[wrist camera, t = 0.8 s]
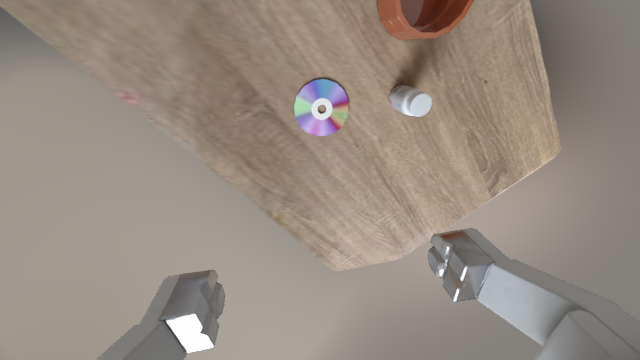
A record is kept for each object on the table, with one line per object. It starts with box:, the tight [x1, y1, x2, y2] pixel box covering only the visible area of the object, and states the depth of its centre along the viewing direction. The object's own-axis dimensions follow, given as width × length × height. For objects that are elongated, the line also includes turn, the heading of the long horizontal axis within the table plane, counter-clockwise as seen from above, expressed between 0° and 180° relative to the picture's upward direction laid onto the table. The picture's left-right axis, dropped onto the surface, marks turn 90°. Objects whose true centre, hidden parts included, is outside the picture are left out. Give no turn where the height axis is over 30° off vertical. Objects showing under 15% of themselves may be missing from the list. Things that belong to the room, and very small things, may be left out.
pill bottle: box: [389, 85, 432, 117], centre depth 43 cm, size 5×5×8 cm
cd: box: [294, 79, 349, 136], centre depth 46 cm, size 11×11×1 cm
